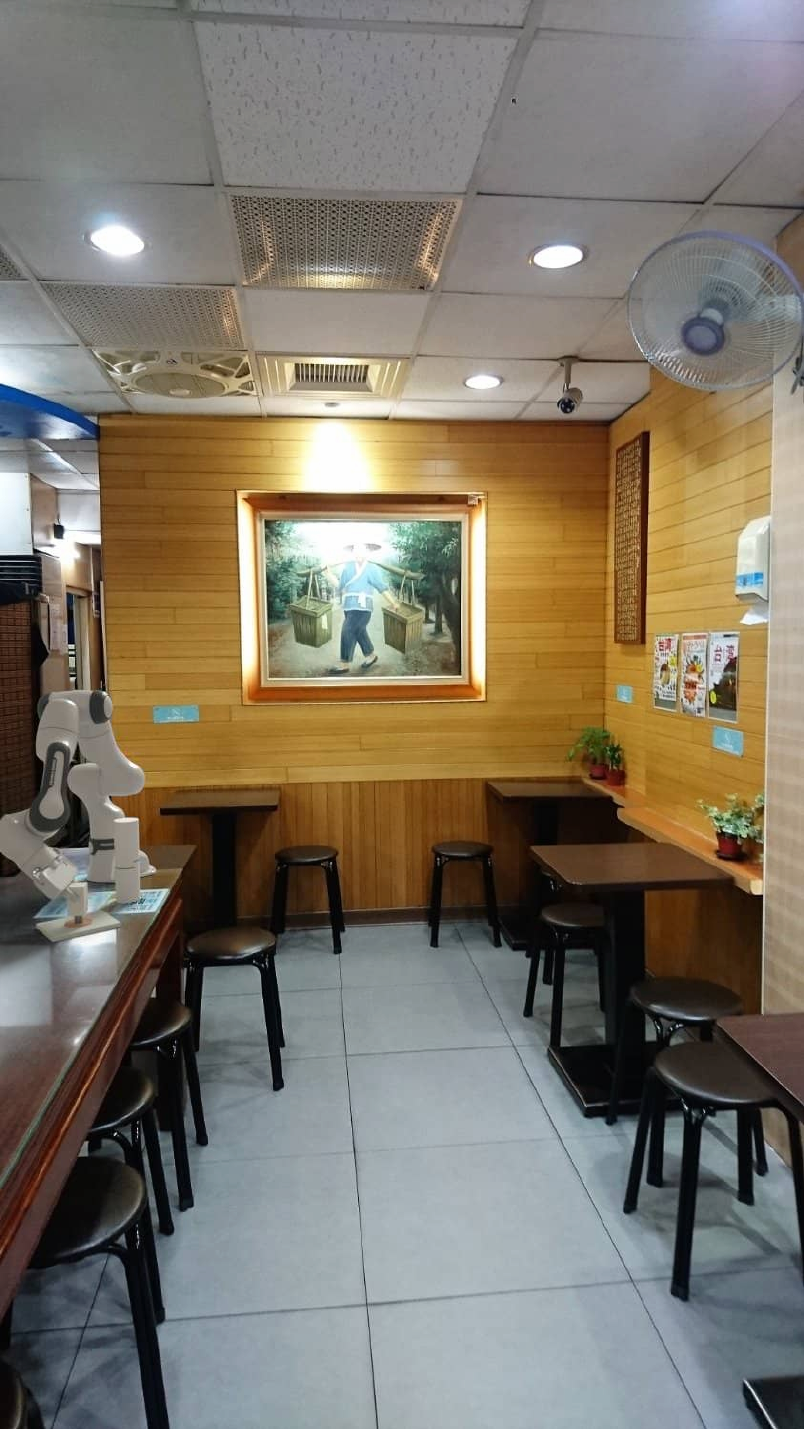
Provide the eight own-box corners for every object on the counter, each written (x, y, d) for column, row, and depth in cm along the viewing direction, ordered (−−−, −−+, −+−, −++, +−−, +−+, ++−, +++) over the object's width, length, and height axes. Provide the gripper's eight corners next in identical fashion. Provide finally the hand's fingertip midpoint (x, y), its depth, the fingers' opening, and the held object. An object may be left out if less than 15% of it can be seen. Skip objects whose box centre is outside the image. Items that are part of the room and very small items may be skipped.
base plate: (101, 914, 226) (101, 893, 226) (120, 926, 216) (120, 904, 215) (36, 928, 214) (35, 906, 214) (52, 942, 204) (52, 919, 203)
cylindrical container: (145, 898, 241) (143, 818, 239) (128, 904, 235) (126, 823, 233) (128, 895, 244) (126, 816, 242) (110, 901, 238) (108, 821, 236)
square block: (67, 916, 212) (66, 887, 211) (71, 911, 216) (70, 883, 216) (84, 915, 213) (83, 886, 212) (88, 910, 217) (87, 882, 216)
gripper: (38, 865, 202) (78, 900, 204) (59, 846, 222) (96, 878, 224) (20, 882, 202) (61, 917, 204) (43, 862, 222) (80, 894, 224)
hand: (79, 897), depth 214 cm, fingers closed on square block, 4 cm apart
